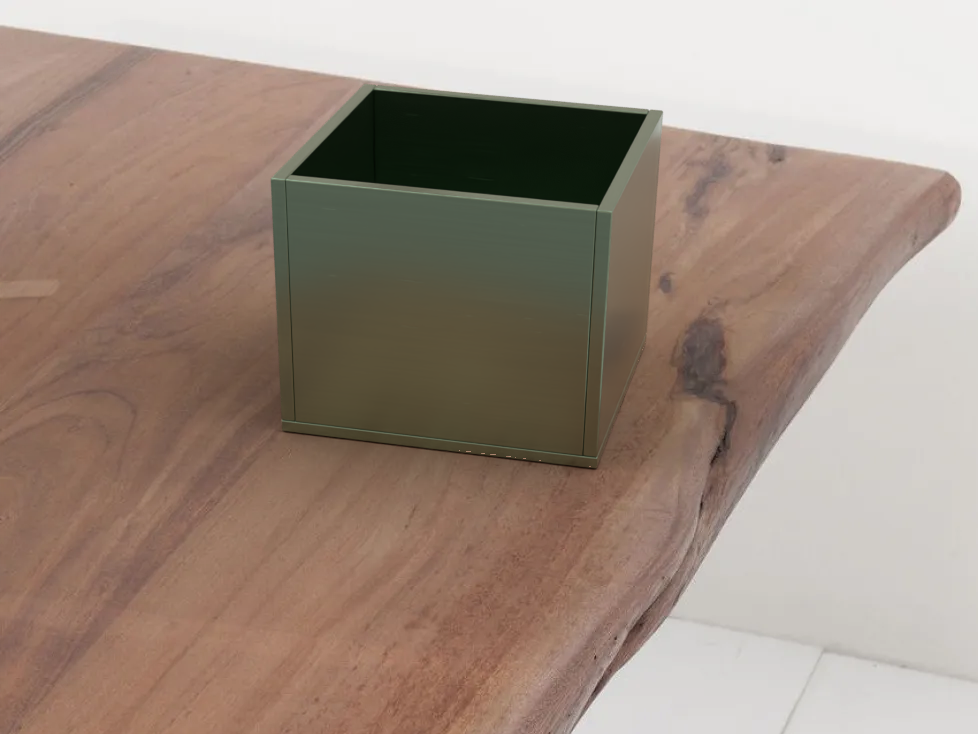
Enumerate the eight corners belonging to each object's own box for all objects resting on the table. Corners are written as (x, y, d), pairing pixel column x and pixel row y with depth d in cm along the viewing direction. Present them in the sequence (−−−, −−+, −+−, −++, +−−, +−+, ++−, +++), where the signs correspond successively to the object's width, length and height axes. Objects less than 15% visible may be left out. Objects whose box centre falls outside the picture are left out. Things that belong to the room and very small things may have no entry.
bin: (281, 431, 78) (269, 177, 72) (367, 312, 88) (363, 83, 82) (596, 469, 76) (612, 211, 70) (646, 343, 86) (663, 110, 80)
